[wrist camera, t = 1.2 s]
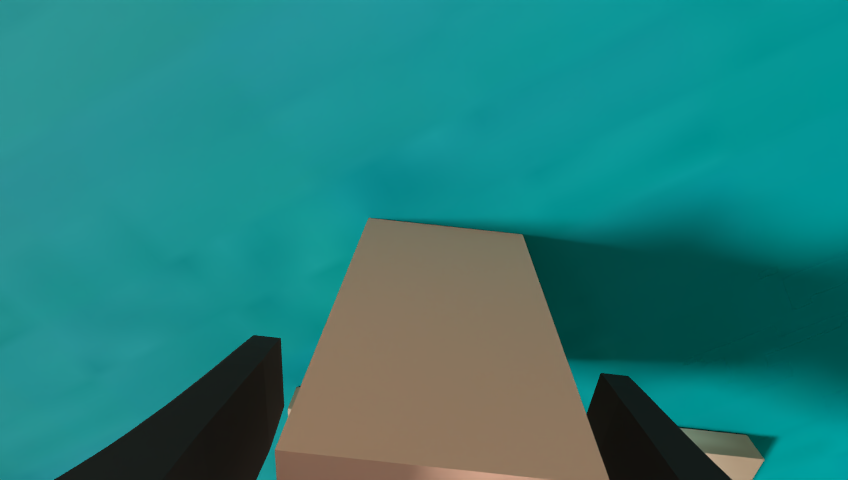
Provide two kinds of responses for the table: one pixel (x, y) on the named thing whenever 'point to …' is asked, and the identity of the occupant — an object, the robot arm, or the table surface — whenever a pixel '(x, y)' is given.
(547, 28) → the table surface
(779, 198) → the table surface
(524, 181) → the table surface
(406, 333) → the square peg
